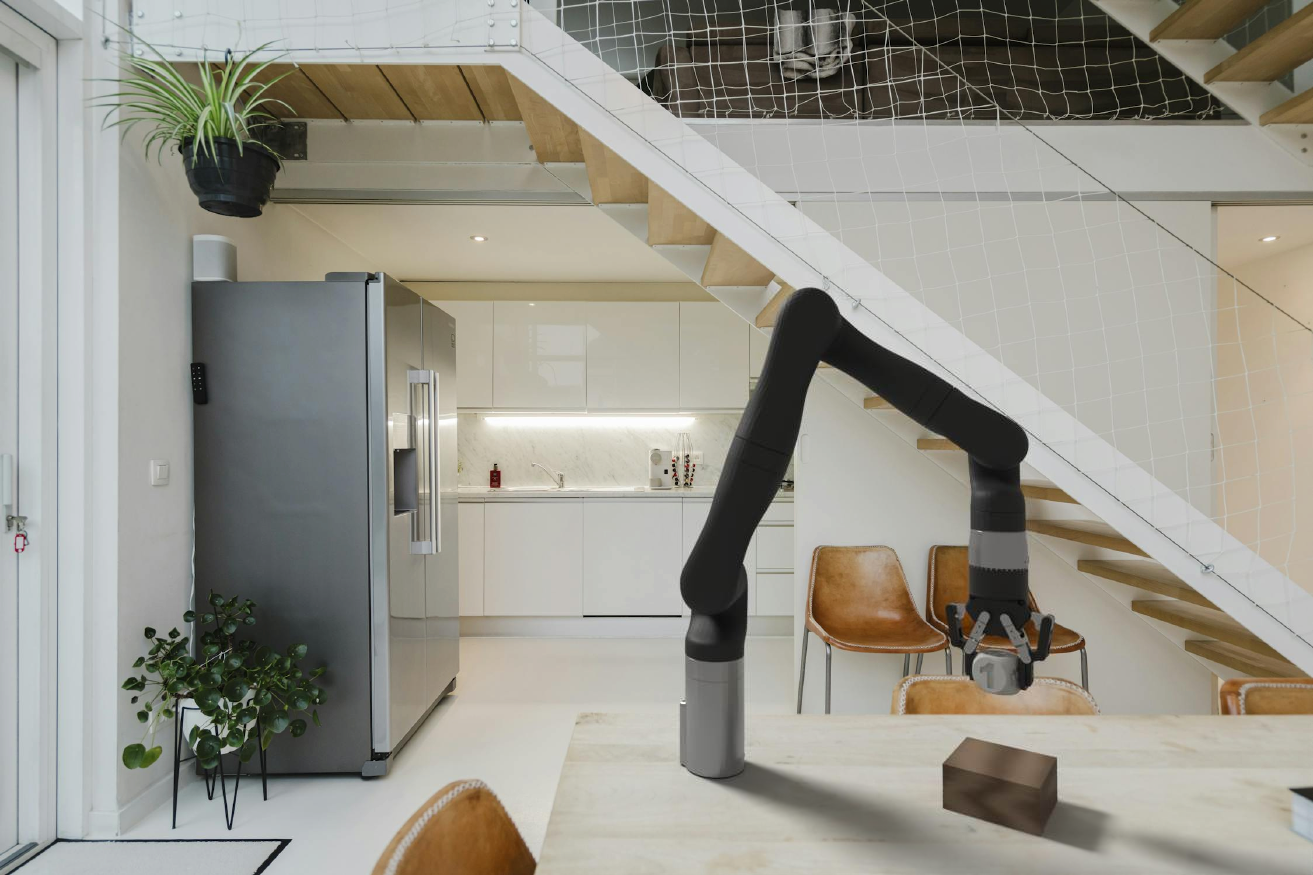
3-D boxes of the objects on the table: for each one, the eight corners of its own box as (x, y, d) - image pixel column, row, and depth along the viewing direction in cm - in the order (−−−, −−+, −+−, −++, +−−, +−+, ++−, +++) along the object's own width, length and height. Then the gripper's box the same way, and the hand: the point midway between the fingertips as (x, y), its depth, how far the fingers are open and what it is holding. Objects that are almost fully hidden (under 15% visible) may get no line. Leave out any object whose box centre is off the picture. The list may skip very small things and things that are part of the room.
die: (971, 688, 101) (971, 652, 101) (990, 681, 104) (990, 646, 104) (1007, 698, 97) (1006, 660, 97) (1025, 690, 100) (1025, 654, 100)
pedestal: (942, 807, 100) (942, 763, 100) (967, 776, 109) (966, 736, 109) (1040, 836, 92) (1039, 788, 92) (1057, 800, 102) (1057, 757, 102)
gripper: (936, 560, 103) (937, 680, 102) (1050, 571, 94) (1051, 702, 93) (952, 554, 109) (953, 668, 108) (1061, 564, 100) (1062, 687, 99)
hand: (998, 683), depth 101 cm, fingers closed on die, 6 cm apart
